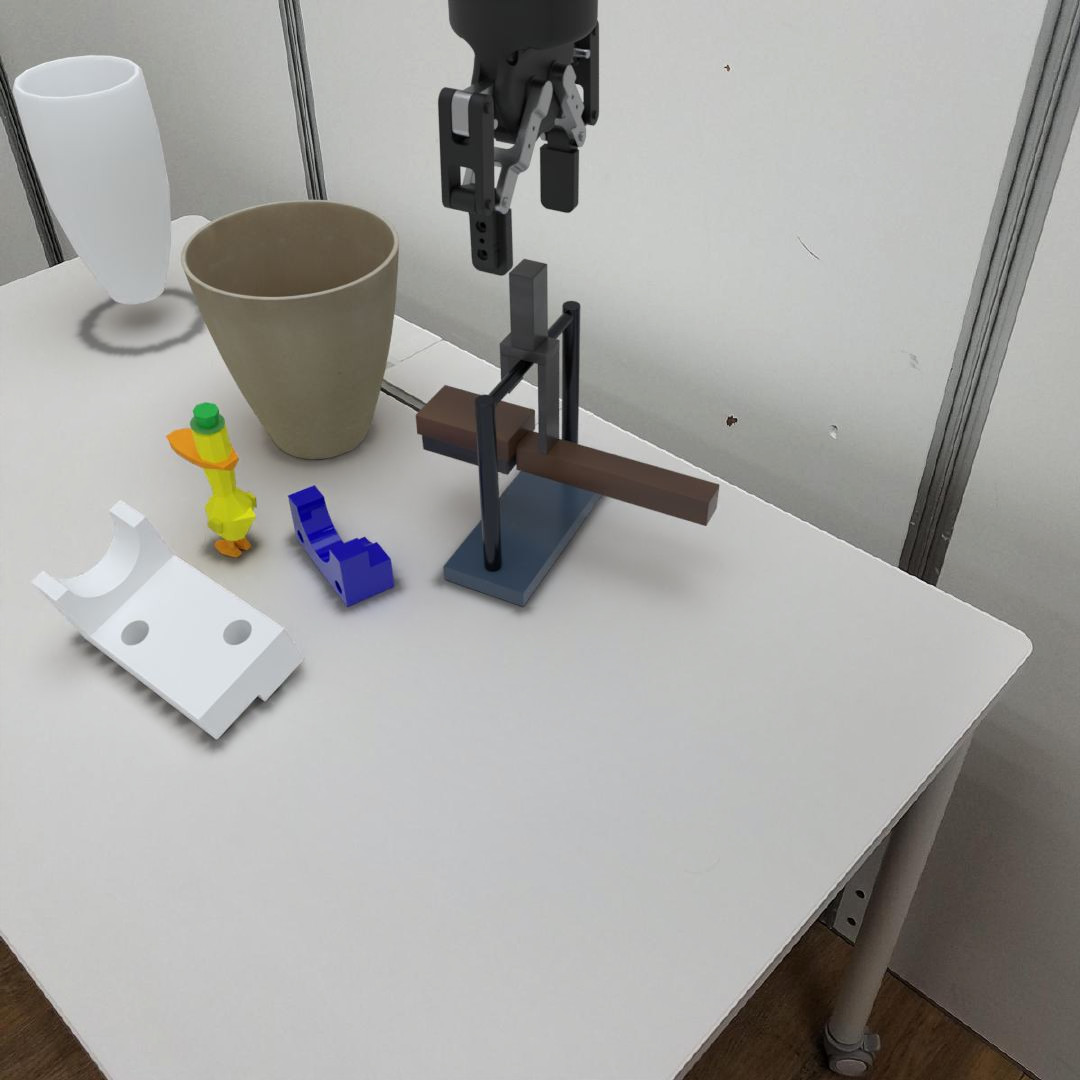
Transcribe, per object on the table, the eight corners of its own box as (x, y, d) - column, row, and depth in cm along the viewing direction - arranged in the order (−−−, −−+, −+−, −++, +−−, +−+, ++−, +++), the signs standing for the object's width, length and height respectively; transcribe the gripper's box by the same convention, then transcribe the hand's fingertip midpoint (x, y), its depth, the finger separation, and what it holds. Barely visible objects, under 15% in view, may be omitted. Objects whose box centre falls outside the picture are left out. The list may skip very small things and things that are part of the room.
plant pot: (424, 479, 83) (405, 288, 72) (221, 500, 82) (171, 308, 71) (411, 370, 94) (392, 189, 83) (231, 386, 92) (189, 205, 82)
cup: (226, 300, 103) (172, 59, 89) (164, 359, 96) (95, 107, 81) (128, 284, 105) (61, 47, 91) (61, 340, 98) (-24, 92, 84)
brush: (700, 536, 70) (724, 333, 60) (418, 450, 77) (398, 256, 67) (722, 499, 72) (747, 299, 63) (447, 419, 79) (432, 228, 70)
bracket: (92, 646, 72) (30, 581, 66) (172, 568, 75) (119, 499, 69) (223, 746, 66) (167, 685, 60) (304, 658, 69) (259, 591, 63)
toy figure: (179, 542, 78) (136, 401, 70) (216, 515, 80) (178, 374, 72) (249, 578, 75) (213, 435, 67) (285, 548, 78) (255, 406, 70)
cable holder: (394, 586, 75) (388, 541, 72) (347, 606, 73) (339, 562, 71) (341, 521, 80) (334, 477, 77) (296, 539, 78) (287, 495, 76)
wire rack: (614, 477, 83) (622, 304, 73) (523, 607, 73) (518, 426, 63) (542, 456, 85) (540, 284, 75) (443, 579, 75) (427, 400, 65)
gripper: (524, -26, 48) (530, 309, 58) (650, -100, 57) (635, 201, 68) (375, -46, 50) (407, 279, 61) (519, -113, 60) (525, 179, 70)
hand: (527, 238), depth 64 cm, fingers open, 8 cm apart
